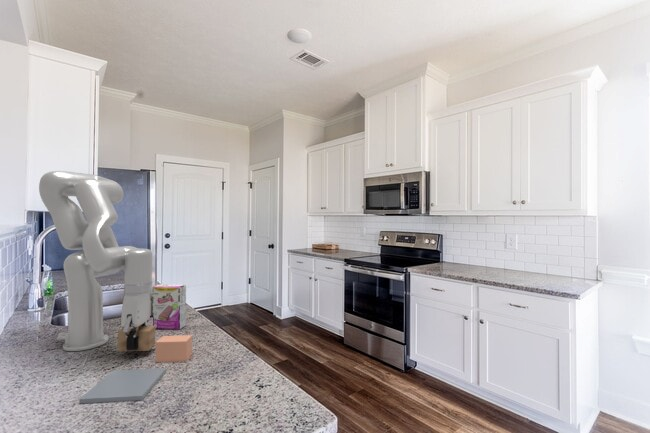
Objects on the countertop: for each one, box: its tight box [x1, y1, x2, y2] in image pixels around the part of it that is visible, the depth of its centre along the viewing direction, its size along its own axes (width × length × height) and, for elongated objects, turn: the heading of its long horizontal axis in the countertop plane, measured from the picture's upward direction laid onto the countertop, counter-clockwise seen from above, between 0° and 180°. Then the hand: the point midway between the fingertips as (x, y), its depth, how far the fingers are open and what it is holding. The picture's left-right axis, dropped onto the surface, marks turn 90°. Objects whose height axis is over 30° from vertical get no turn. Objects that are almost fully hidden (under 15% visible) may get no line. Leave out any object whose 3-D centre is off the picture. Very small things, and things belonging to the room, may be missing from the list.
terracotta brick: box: [154, 334, 193, 363], centre depth 100 cm, size 9×5×6 cm, turn 93°
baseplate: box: [78, 367, 167, 404], centre depth 84 cm, size 14×14×1 cm
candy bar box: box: [152, 283, 187, 331], centre depth 127 cm, size 11×5×16 cm, turn 84°
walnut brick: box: [117, 325, 156, 352], centre depth 103 cm, size 9×5×6 cm, turn 97°
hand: (137, 344), depth 103 cm, fingers closed on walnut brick, 5 cm apart
